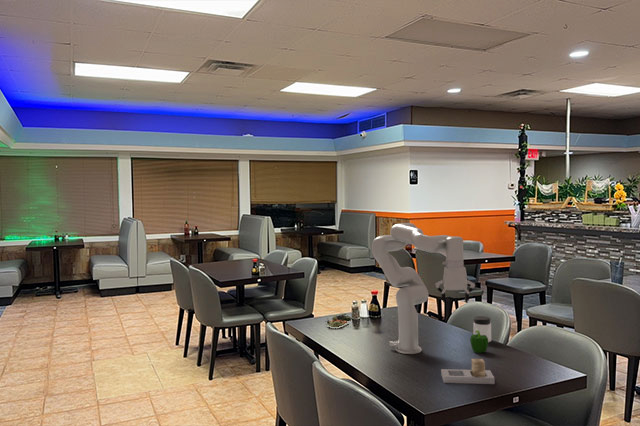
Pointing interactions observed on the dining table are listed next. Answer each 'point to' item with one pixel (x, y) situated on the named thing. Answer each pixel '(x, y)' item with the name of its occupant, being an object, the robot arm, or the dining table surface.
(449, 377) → the rail
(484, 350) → the bell pepper
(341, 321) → the plated dish
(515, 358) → the dining table surface
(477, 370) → the beech block
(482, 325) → the jar
